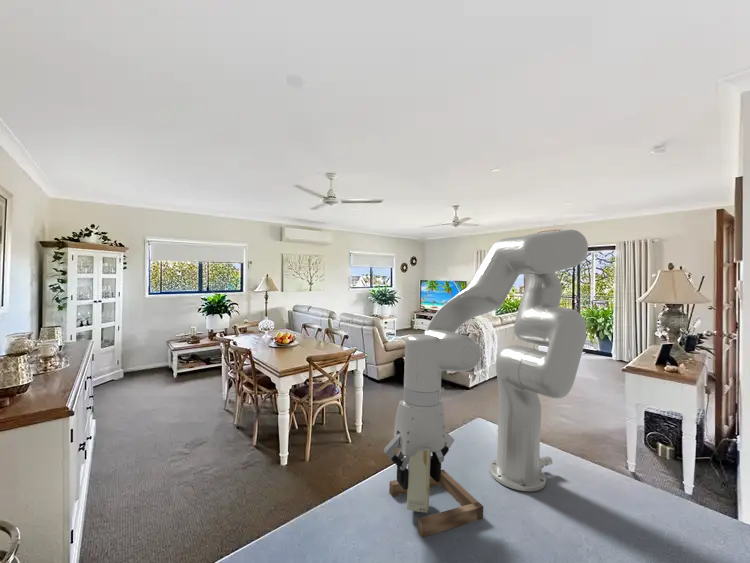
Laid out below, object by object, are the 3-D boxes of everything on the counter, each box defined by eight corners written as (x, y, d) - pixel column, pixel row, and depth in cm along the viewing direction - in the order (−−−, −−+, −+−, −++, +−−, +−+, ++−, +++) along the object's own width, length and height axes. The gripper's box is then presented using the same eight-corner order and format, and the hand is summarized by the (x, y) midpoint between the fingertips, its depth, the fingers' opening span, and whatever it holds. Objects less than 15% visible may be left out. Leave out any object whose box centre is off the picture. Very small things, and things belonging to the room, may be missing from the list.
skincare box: (428, 514, 67) (430, 452, 67) (406, 510, 68) (408, 449, 68) (429, 494, 73) (431, 437, 73) (409, 491, 74) (411, 434, 74)
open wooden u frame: (442, 479, 81) (443, 469, 81) (483, 518, 68) (483, 506, 68) (389, 492, 76) (389, 481, 76) (422, 537, 63) (422, 524, 63)
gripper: (446, 386, 77) (443, 465, 77) (375, 394, 71) (372, 480, 71) (468, 397, 70) (464, 484, 71) (391, 407, 64) (388, 503, 64)
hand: (418, 481), depth 71 cm, fingers closed on skincare box, 6 cm apart
